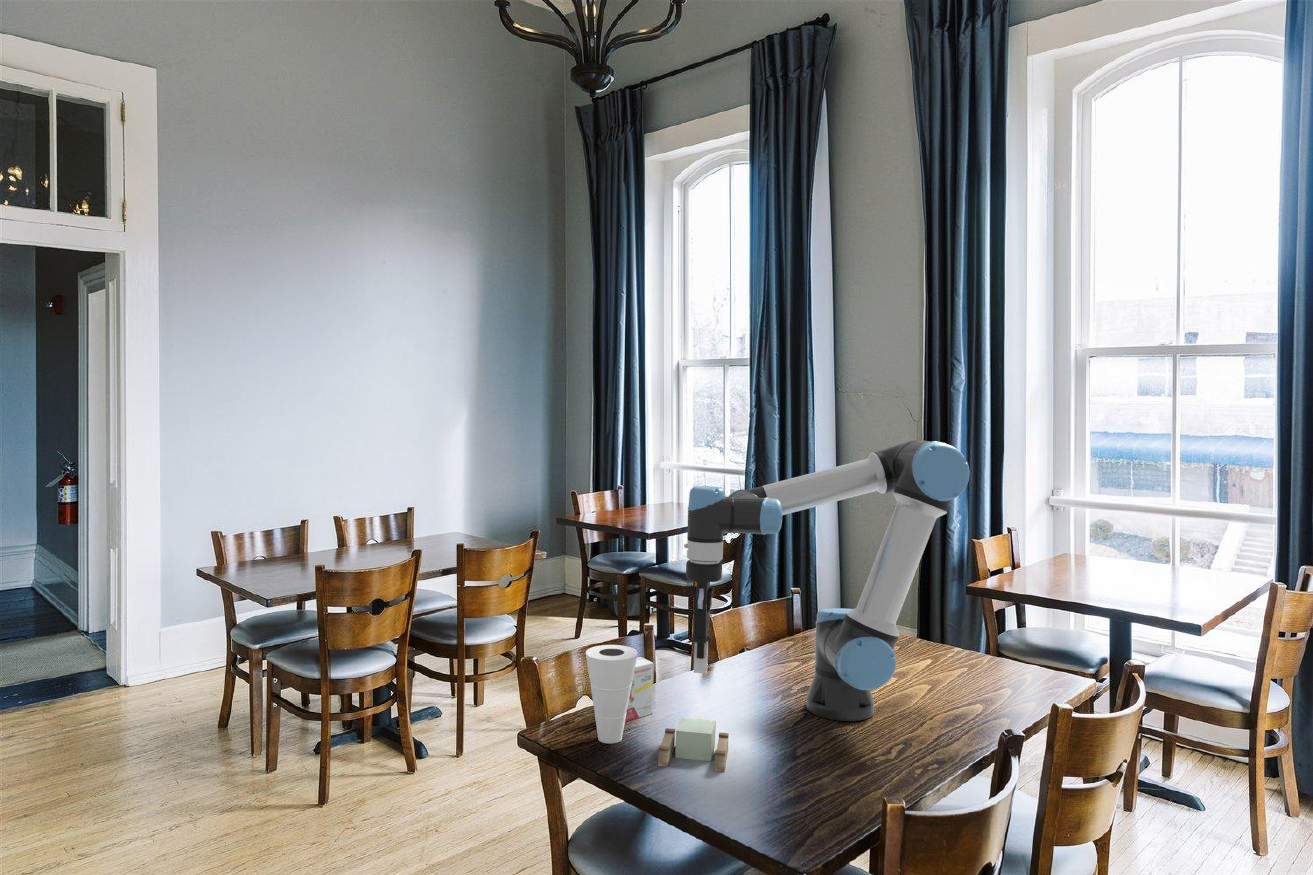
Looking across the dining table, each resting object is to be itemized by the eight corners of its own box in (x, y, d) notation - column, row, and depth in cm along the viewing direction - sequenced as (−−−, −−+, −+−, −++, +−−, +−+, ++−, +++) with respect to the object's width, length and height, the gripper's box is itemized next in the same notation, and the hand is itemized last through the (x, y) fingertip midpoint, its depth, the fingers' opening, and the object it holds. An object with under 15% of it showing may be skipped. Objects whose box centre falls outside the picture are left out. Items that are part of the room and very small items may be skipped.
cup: (577, 732, 176) (578, 647, 175) (624, 725, 180) (626, 642, 179) (593, 752, 166) (595, 662, 165) (643, 744, 170) (645, 656, 170)
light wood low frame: (728, 750, 168) (728, 733, 168) (724, 771, 159) (725, 753, 158) (665, 745, 170) (665, 728, 170) (658, 766, 160) (658, 747, 160)
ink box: (623, 722, 182) (624, 668, 182) (609, 715, 186) (610, 663, 185) (653, 714, 187) (654, 661, 187) (640, 707, 191) (641, 656, 191)
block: (715, 747, 170) (715, 720, 170) (710, 761, 163) (711, 733, 163) (680, 744, 172) (681, 717, 171) (675, 758, 165) (676, 730, 164)
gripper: (689, 554, 183) (686, 661, 184) (682, 565, 170) (678, 680, 171) (724, 556, 182) (720, 664, 183) (719, 567, 169) (715, 683, 170)
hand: (700, 671), depth 177 cm, fingers closed
